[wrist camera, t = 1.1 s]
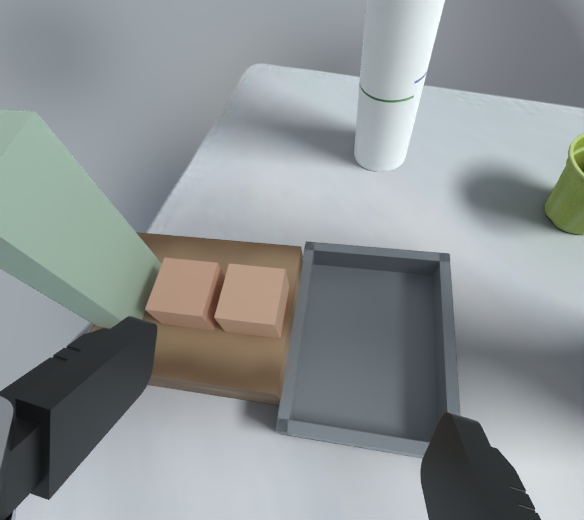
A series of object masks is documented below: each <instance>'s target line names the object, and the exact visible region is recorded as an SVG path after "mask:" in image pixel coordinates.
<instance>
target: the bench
mask: <svg viewBox="0 0 584 520" xmlns="http://www.w3.org/2000/svg"><path fill="white" fill-rule="evenodd" d="M136 233H137V232H136ZM137 234H138V236H139V237H140V238H141V239H142V240H143V242H144V243H145V244H146V245H147V246H148V248H149V249H150V250H151V251H152V252H153V254H154V255H155V256H156V257H157V258H158V260H159V261H160V262H161V263H163V260H164V258H173V259H184V260H194V261H205V262H215V263H218V264H219V266H220V268H221V270H222V272H223V273H224V275H225V276H226V273H227V269H228V265H229V264H239V265H249V266H260V267H270V268H280V269H286V274H287V279H288V283H289V291H288V297H287V303H286V308H285V314H284V320H283V326H282V331H281V337H280V339H279V338H271V337H263V336H255V335H247V334H240V333H232V332H225V331H224V330H223V328H222V327H221V326H220V325H219V323H218V322H217V321H216V325H215V329H214V331H213V330H205V329H198V328H190V327H182V326H174V325H166V324H161V323H160V322H159V321H158V320H157V319H155V318H154V317H153V316H152V315H151V314H149V313H148V312H147V311H145V313H144V316H143V319H142V320H145V321H148V322H152V323H155V324H156V325H157V339H156V347H155V355H154V363H153V370H152V374H151V377H150V380H149V382H148V384H147V385H152V386H159V387H165V388H171V389H178V390H184V391H191V392H197V393H203V394H210V395H216V396H223V397H229V398H235V399H242V400H248V401H255V402H261V403H267V404H274V405H280V400H281V395H282V389H283V382H284V376H285V370H286V364H287V358H288V351H289V345H290V339H291V333H292V326H293V320H294V314H295V308H296V302H297V295H298V289H299V283H300V277H301V271H302V264H303V258H302V250H301V247H299V246H288V245H276V244H265V243H253V242H241V241H230V240H218V239H206V238H195V237H183V236H172V235H160V234H148V233H137ZM102 328H105V327H98V326H96V325H93V328H92V330H91V332H93V331H96V330H99V329H102ZM107 329H111V328H107Z"/></svg>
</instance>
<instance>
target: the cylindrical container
mask: <svg viewBox="0 0 584 520" xmlns="http://www.w3.org/2000/svg"><path fill="white" fill-rule="evenodd" d="M444 1H445V0H366V11H365V23H364V35H363V48H362V61H361V72H360V84H359V97H358V109H357V122H356V134H355V147H354V157H355V159H356V161H357V162H358V163H359V165H361V166H362V167H364V168H366V169H368V170H371V171H375V172H385V171H390V170H393V169H395V168H397V167H399V166H400V165H401V164H402V163H403V161H404V160H405V157H406V153H407V149H408V145H409V141H410V137H411V133H412V129H413V125H414V121H415V117H416V113H417V109H418V105H419V101H420V97H421V93H422V89H423V85H424V81H425V77H426V73H427V69H428V65H429V61H430V57H431V53H432V49H433V44H434V41H435V37H436V33H437V28H438V25H439V21H440V17H441V13H442V9H443V5H444Z"/></svg>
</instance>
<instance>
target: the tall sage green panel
mask: <svg viewBox="0 0 584 520" xmlns="http://www.w3.org/2000/svg"><path fill="white" fill-rule="evenodd" d="M161 265H162V263H161V262H160V261H159V260H158V258H157V257H156V256H155V255H154V254H153V252H152V251H151V250H150V249H149V248H148V246H147V245H146V244H145V243H144V242H143V240H142V239H141V238H140V237H139V236H138V234H137V233H136V232H135V231H134V230H133V228H132V227H131V226H130V225H129V224H128V222H127V221H126V220H125V219H124V217H123V216H122V215H121V214H120V213H119V212H118V210H117V209H116V208H115V207H114V205H113V204H112V203H111V202H110V201H109V200H108V198H107V197H106V196H105V195H104V193H103V192H102V191H101V190H100V189H99V187H98V186H97V185H96V184H95V183H94V181H93V180H92V179H91V178H90V177H89V175H88V174H87V173H86V172H85V171H84V169H83V168H82V167H81V166H80V165H79V163H78V162H77V161H76V160H75V159H74V157H72V155H71V154H70V152H69V151H68V150H67V149H66V148H65V147H64V145H63V144H62V143H61V142H60V140H59V139H58V138H57V137H56V136H55V135H54V133H53V132H52V131H51V130H50V128H49V127H48V126H47V125H46V124H45V122H44V121H43V120H42V119H41V118H40V116H39V115H38V114H37V113H36V112H35V111H19V110H0V268H1V269H2V270H4V271H6V272H7V273H9V274H11V275H12V276H14V277H16V278H17V279H19V280H21V281H22V282H24V283H26V284H28V285H29V286H31V287H32V288H34V289H36V290H37V291H39V292H41V293H43V294H44V295H46V296H47V297H49V298H51V299H52V300H54V301H56V302H58V303H59V304H61V305H63V306H65V307H66V308H68V309H69V310H71V311H73V312H74V313H76V314H78V315H80V316H81V317H83V318H84V319H86V320H88V321H89V322H91V323H93V324H94V325H96V326H98V327H105V328H112V327H114V326H115V325H116V324H118V323H119V322H120V321H122V320H123V319H125V318H126V317H128V316H132V317H135V318H138V319H143V316H144V313H145V311H146V310H145V308H146V305H147V303H148V300H149V297H150V295H151V292H152V289H153V287H154V284H155V281H156V279H157V276H158V273H159V271H160V268H161Z"/></svg>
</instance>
